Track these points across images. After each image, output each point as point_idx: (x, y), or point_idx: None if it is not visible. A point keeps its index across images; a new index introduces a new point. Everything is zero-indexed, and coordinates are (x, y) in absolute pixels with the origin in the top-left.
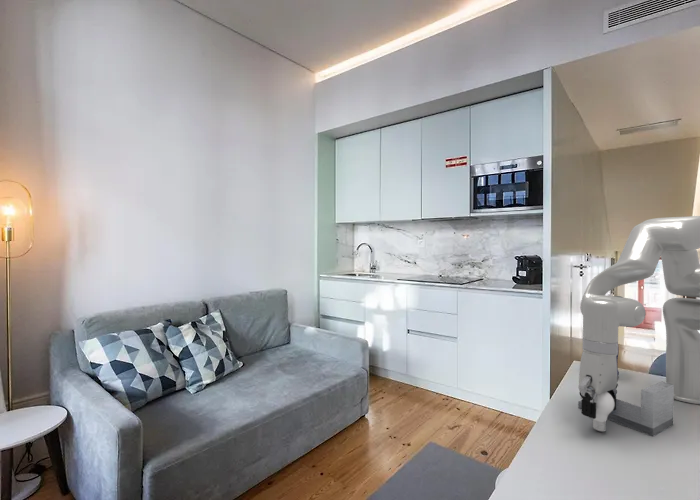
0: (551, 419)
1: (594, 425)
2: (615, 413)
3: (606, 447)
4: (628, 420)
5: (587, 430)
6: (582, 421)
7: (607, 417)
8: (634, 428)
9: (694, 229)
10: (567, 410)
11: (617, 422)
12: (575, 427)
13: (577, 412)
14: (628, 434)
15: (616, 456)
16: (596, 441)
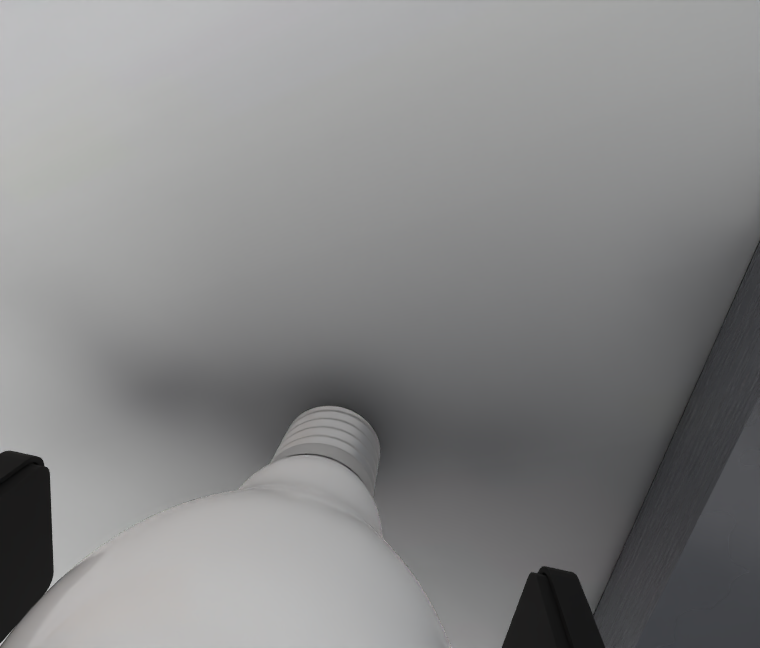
0: (200, 28)
1: (284, 438)
2: (731, 541)
3: (111, 518)
4: (636, 629)
5: (265, 367)
6: (426, 284)
7: (684, 444)
8: (598, 617)
9: None
10: (623, 59)
11: (642, 512)
12: (233, 278)
13: (646, 171)
14: (460, 588)
15: (53, 575)
16: (135, 458)
